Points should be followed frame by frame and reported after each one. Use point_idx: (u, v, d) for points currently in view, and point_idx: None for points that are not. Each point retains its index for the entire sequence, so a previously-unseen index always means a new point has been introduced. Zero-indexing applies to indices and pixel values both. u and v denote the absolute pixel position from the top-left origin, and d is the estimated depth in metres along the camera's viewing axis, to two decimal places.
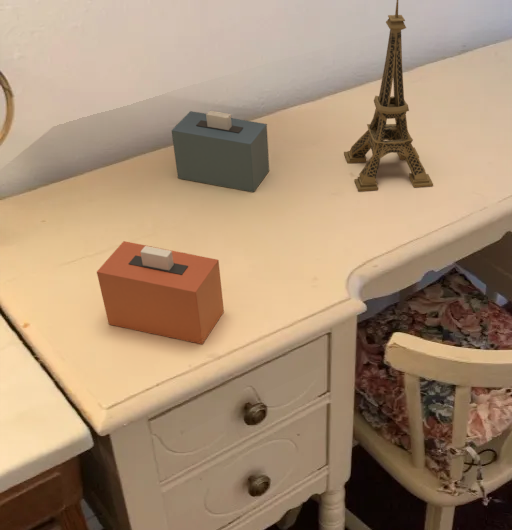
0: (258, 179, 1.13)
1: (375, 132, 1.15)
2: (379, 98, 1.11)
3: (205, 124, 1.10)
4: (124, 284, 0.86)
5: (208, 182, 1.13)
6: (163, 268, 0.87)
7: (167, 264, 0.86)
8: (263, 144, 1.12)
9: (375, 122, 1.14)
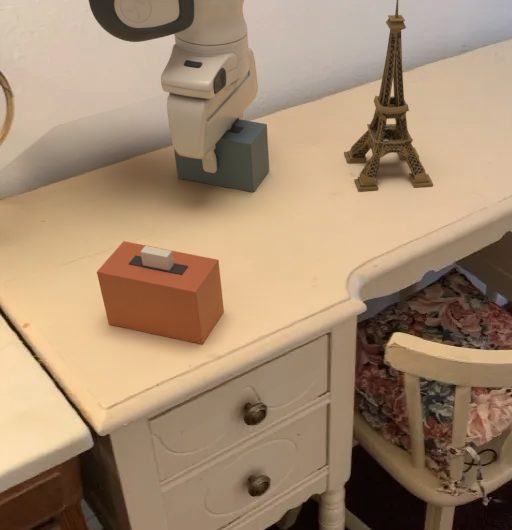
0: (258, 179, 1.13)
1: (375, 132, 1.15)
2: (379, 98, 1.11)
3: None
4: (124, 284, 0.86)
5: (209, 182, 1.13)
6: (163, 268, 0.87)
7: (167, 264, 0.86)
8: (263, 144, 1.12)
9: (375, 122, 1.14)
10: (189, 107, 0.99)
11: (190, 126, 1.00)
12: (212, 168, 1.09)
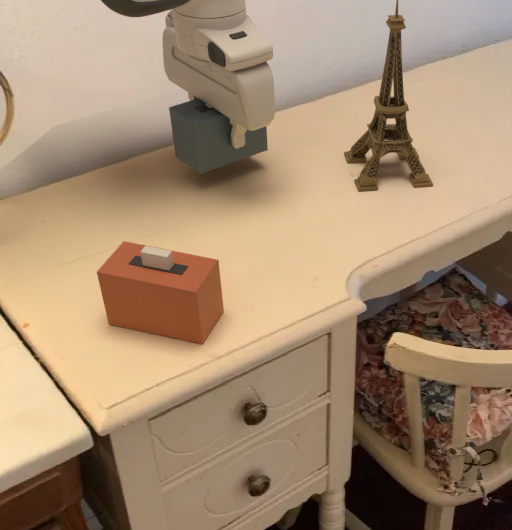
0: None
1: (375, 132, 1.15)
2: (379, 98, 1.11)
3: (205, 107, 1.08)
4: (124, 284, 0.86)
5: (229, 162, 1.12)
6: (163, 268, 0.87)
7: (167, 264, 0.86)
8: None
9: (375, 122, 1.14)
10: (260, 75, 1.00)
11: (265, 93, 1.01)
12: (242, 141, 1.10)
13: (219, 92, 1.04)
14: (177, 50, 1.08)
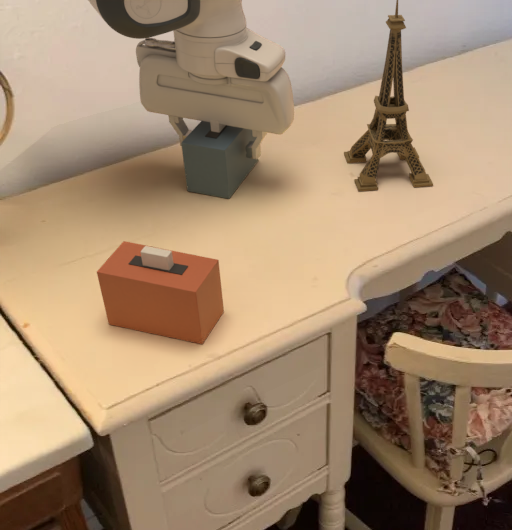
0: None
1: (375, 132, 1.15)
2: (379, 98, 1.11)
3: (215, 133, 1.08)
4: (124, 284, 0.86)
5: (241, 180, 1.13)
6: (163, 268, 0.87)
7: (167, 264, 0.86)
8: None
9: (375, 122, 1.14)
10: (283, 79, 1.04)
11: (289, 95, 1.05)
12: (259, 151, 1.12)
13: (236, 106, 1.05)
14: (164, 77, 1.06)
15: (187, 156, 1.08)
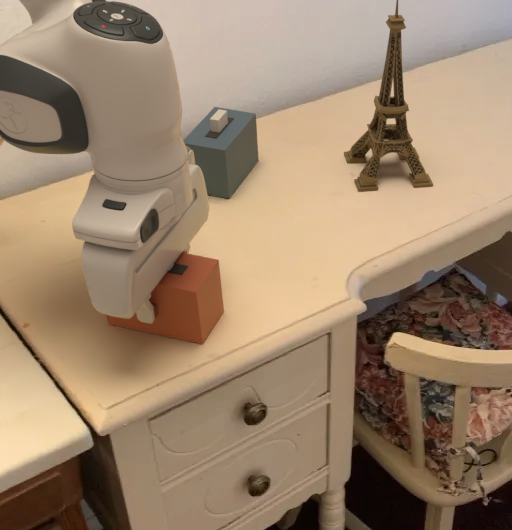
0: None
1: (375, 132, 1.15)
2: (379, 98, 1.11)
3: (215, 133, 1.08)
4: None
5: (241, 180, 1.13)
6: None
7: None
8: None
9: (375, 122, 1.14)
10: (109, 260, 0.76)
11: (111, 282, 0.77)
12: (148, 318, 0.87)
13: None
14: None
15: None
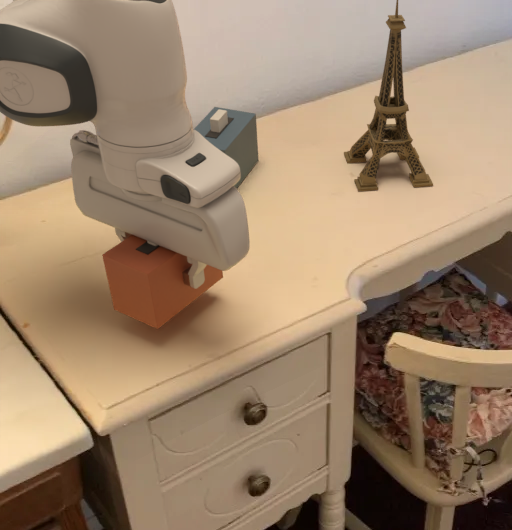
0: None
1: (375, 132, 1.15)
2: (379, 98, 1.11)
3: (215, 133, 1.08)
4: (169, 267, 0.84)
5: (241, 180, 1.13)
6: None
7: None
8: None
9: (375, 122, 1.14)
10: (231, 204, 0.79)
11: (239, 224, 0.80)
12: (202, 278, 0.88)
13: (173, 228, 0.82)
14: (97, 180, 0.83)
15: None
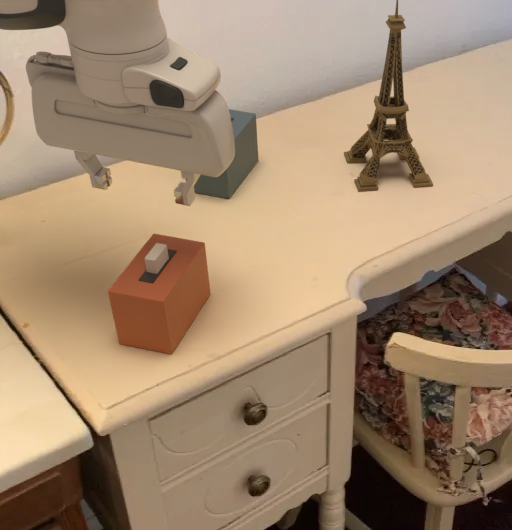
0: None
1: (375, 132, 1.15)
2: (379, 98, 1.11)
3: None
4: (176, 292, 0.86)
5: (241, 180, 1.13)
6: (167, 259, 0.88)
7: (167, 251, 0.88)
8: None
9: (375, 122, 1.14)
10: (218, 106, 0.79)
11: (226, 126, 0.81)
12: (193, 195, 0.87)
13: (158, 141, 0.81)
14: (64, 103, 0.81)
15: None
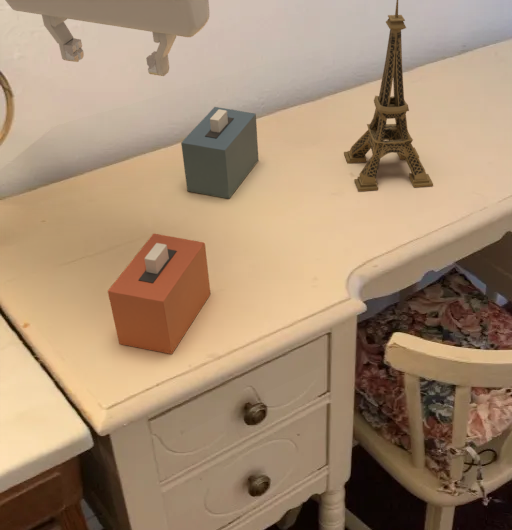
0: None
1: (375, 132, 1.15)
2: (379, 98, 1.11)
3: (215, 133, 1.08)
4: (176, 292, 0.86)
5: (241, 180, 1.13)
6: (167, 259, 0.88)
7: (167, 251, 0.88)
8: None
9: (375, 122, 1.14)
10: None
11: None
12: (167, 65, 0.83)
13: None
14: None
15: (187, 156, 1.08)
